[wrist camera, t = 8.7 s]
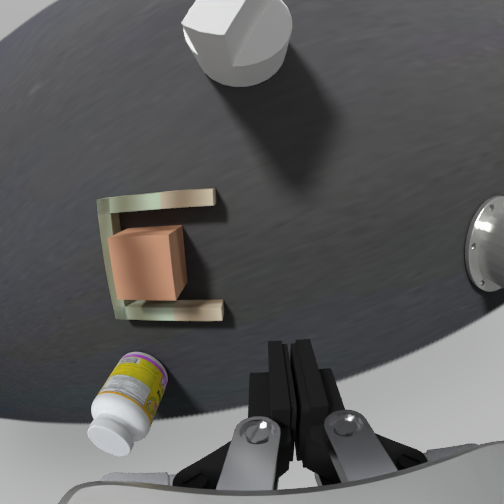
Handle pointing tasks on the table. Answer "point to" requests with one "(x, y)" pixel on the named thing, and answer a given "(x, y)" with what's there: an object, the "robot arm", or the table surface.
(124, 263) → the terracotta block
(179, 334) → the table surface
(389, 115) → the table surface
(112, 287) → the walled lane
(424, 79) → the table surface
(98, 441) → the supplement bottle
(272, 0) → the base with upright slab
